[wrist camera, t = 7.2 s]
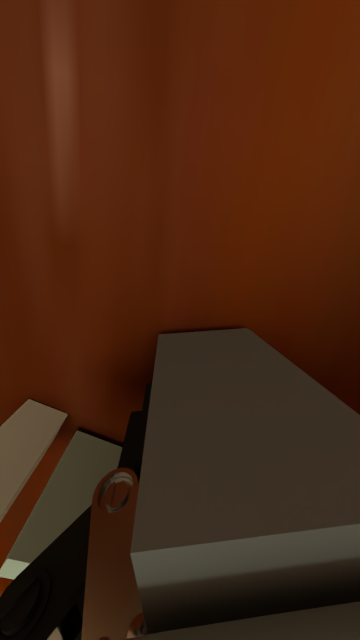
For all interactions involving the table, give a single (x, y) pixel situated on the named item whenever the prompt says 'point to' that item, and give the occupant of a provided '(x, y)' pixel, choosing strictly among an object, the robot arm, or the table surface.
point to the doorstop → (243, 486)
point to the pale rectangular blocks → (24, 447)
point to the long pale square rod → (62, 498)
